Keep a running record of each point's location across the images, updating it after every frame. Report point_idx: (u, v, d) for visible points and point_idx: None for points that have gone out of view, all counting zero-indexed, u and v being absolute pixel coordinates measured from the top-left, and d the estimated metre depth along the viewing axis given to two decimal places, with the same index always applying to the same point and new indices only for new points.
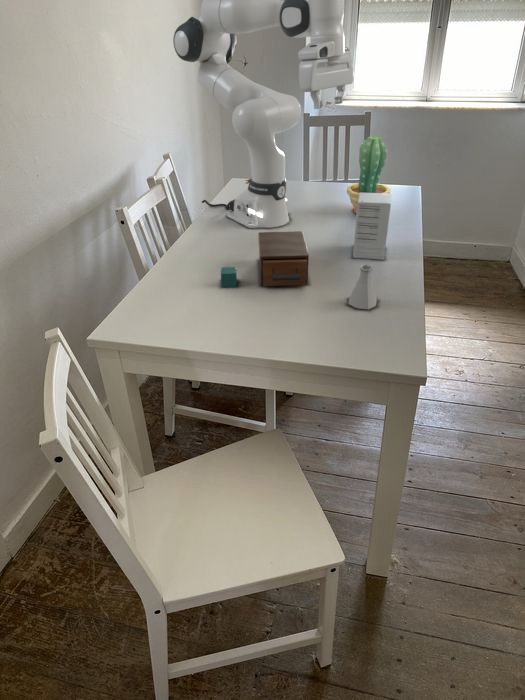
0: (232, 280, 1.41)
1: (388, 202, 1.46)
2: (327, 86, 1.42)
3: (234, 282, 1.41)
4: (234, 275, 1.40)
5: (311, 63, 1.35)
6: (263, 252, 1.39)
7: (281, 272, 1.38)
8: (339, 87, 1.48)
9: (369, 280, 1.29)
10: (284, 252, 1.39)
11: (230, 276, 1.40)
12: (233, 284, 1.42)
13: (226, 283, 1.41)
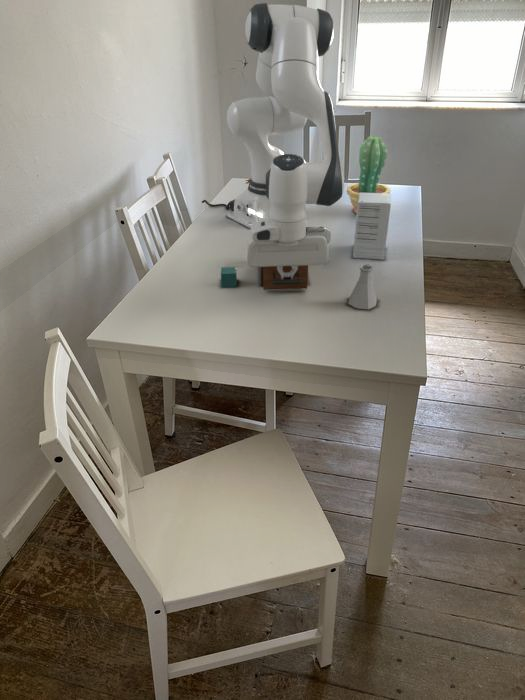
0: (232, 280, 1.41)
1: (388, 202, 1.46)
2: (277, 264, 1.29)
3: (234, 282, 1.41)
4: (234, 275, 1.40)
5: (250, 241, 1.25)
6: None
7: None
8: None
9: (369, 280, 1.29)
10: None
11: (230, 276, 1.40)
12: (233, 284, 1.42)
13: (226, 283, 1.41)
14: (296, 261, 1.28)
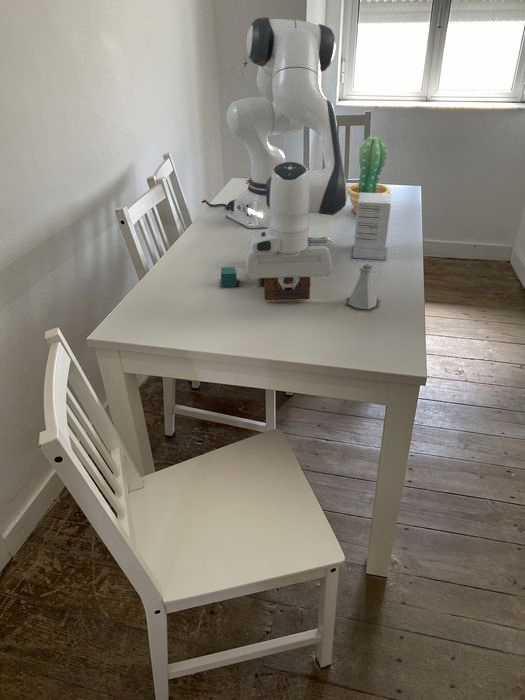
0: (232, 280, 1.41)
1: (388, 202, 1.46)
2: (278, 276, 1.24)
3: (234, 282, 1.41)
4: (234, 275, 1.40)
5: (250, 252, 1.21)
6: None
7: None
8: (293, 276, 1.26)
9: (369, 280, 1.29)
10: None
11: (230, 276, 1.40)
12: (233, 284, 1.42)
13: (226, 283, 1.41)
14: (298, 272, 1.24)
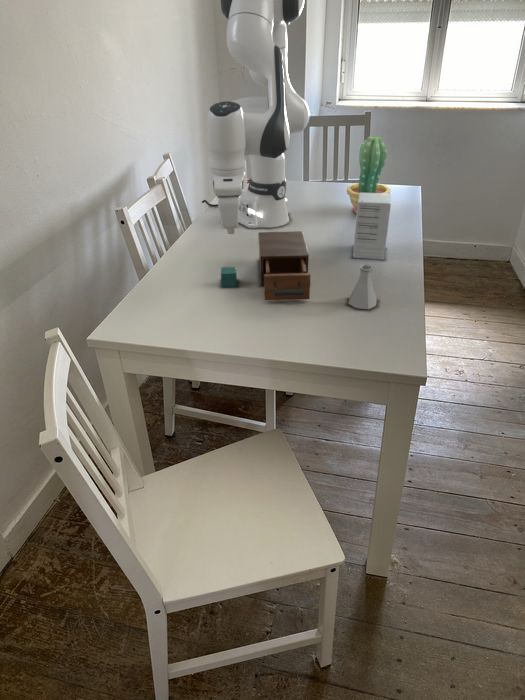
0: (232, 280, 1.41)
1: (388, 202, 1.46)
2: None
3: (234, 282, 1.41)
4: (234, 275, 1.40)
5: (235, 200, 1.21)
6: (263, 252, 1.39)
7: (283, 286, 1.32)
8: None
9: (369, 280, 1.29)
10: (284, 252, 1.39)
11: (230, 276, 1.40)
12: (233, 284, 1.42)
13: (226, 283, 1.41)
14: None
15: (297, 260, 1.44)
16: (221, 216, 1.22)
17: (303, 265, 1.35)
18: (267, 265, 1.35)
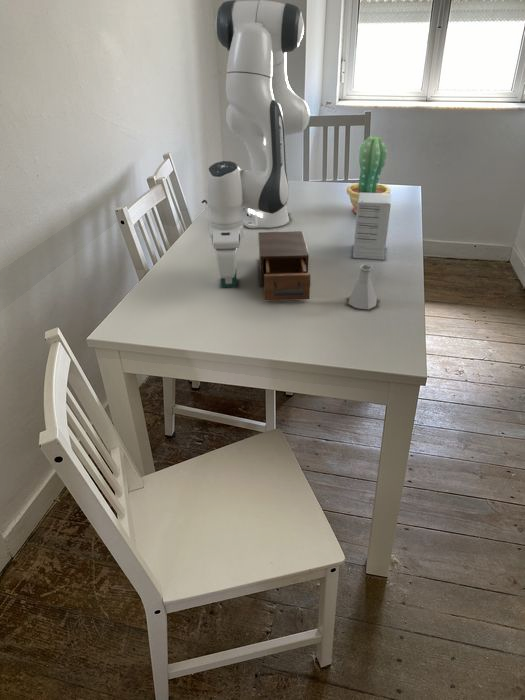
0: (232, 280, 1.41)
1: (388, 202, 1.46)
2: None
3: (234, 282, 1.41)
4: None
5: (232, 253, 1.29)
6: (263, 252, 1.39)
7: (283, 286, 1.32)
8: None
9: (369, 280, 1.29)
10: (284, 252, 1.39)
11: None
12: (233, 284, 1.42)
13: None
14: None
15: (297, 260, 1.44)
16: (219, 267, 1.30)
17: (303, 265, 1.35)
18: (267, 265, 1.35)
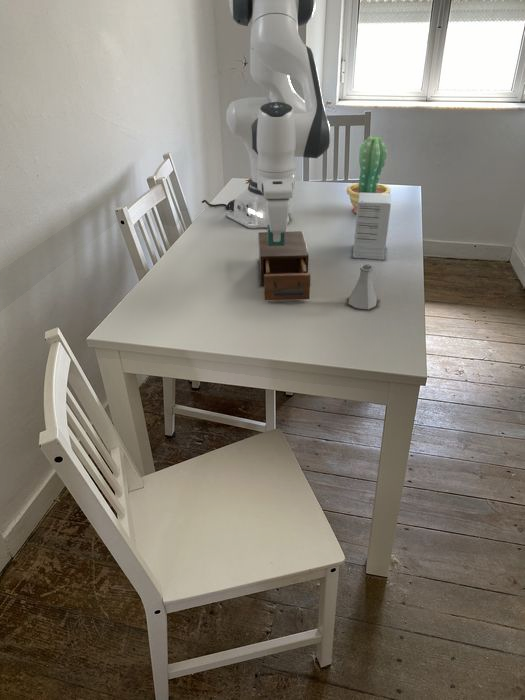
0: None
1: (388, 202, 1.46)
2: None
3: (282, 240, 1.29)
4: None
5: (285, 203, 1.17)
6: (263, 252, 1.39)
7: (283, 286, 1.32)
8: None
9: (369, 280, 1.29)
10: (284, 252, 1.39)
11: None
12: (280, 243, 1.29)
13: (273, 241, 1.29)
14: None
15: (297, 260, 1.44)
16: (270, 220, 1.18)
17: (303, 265, 1.35)
18: (267, 265, 1.35)
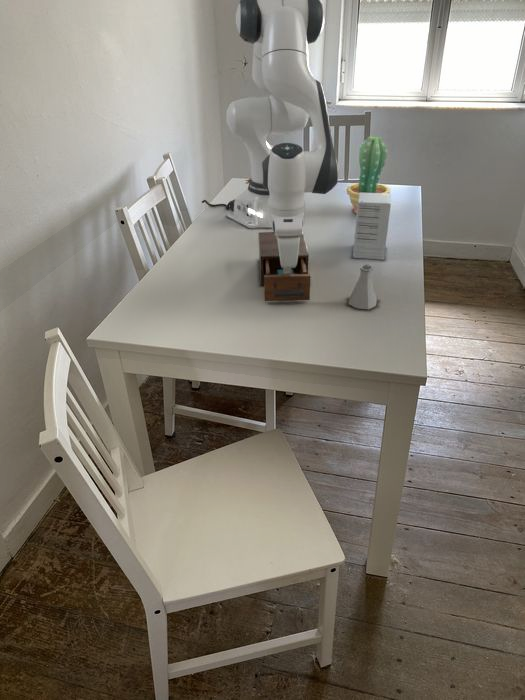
0: None
1: (388, 202, 1.46)
2: None
3: None
4: None
5: (296, 241, 1.21)
6: (263, 252, 1.39)
7: (284, 287, 1.31)
8: None
9: (369, 280, 1.29)
10: None
11: None
12: None
13: None
14: None
15: (297, 261, 1.43)
16: (281, 256, 1.22)
17: (303, 266, 1.35)
18: (267, 266, 1.35)
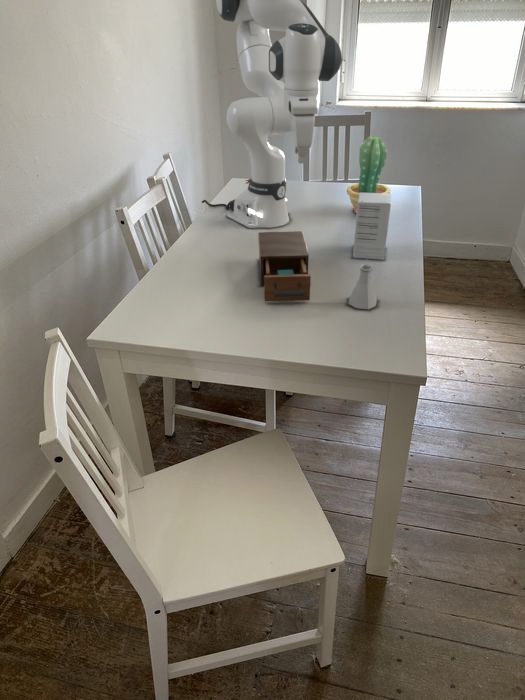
0: None
1: (388, 202, 1.46)
2: None
3: None
4: None
5: (311, 118, 1.25)
6: (263, 252, 1.39)
7: (284, 287, 1.31)
8: None
9: (369, 280, 1.29)
10: (284, 252, 1.39)
11: None
12: None
13: None
14: None
15: (297, 261, 1.43)
16: (297, 135, 1.27)
17: (303, 266, 1.34)
18: (267, 266, 1.35)
